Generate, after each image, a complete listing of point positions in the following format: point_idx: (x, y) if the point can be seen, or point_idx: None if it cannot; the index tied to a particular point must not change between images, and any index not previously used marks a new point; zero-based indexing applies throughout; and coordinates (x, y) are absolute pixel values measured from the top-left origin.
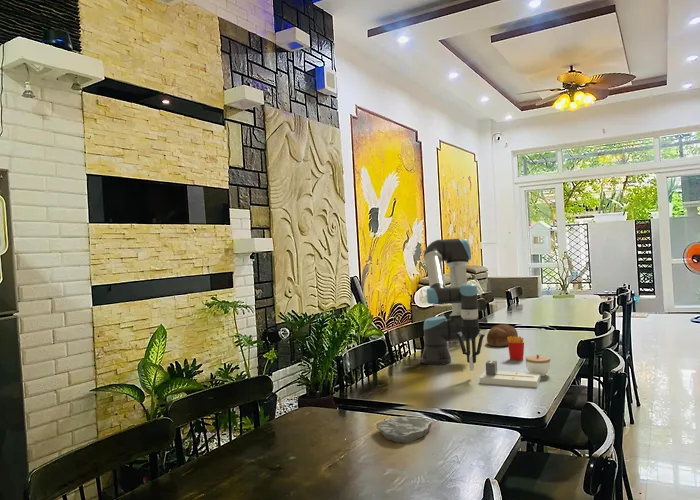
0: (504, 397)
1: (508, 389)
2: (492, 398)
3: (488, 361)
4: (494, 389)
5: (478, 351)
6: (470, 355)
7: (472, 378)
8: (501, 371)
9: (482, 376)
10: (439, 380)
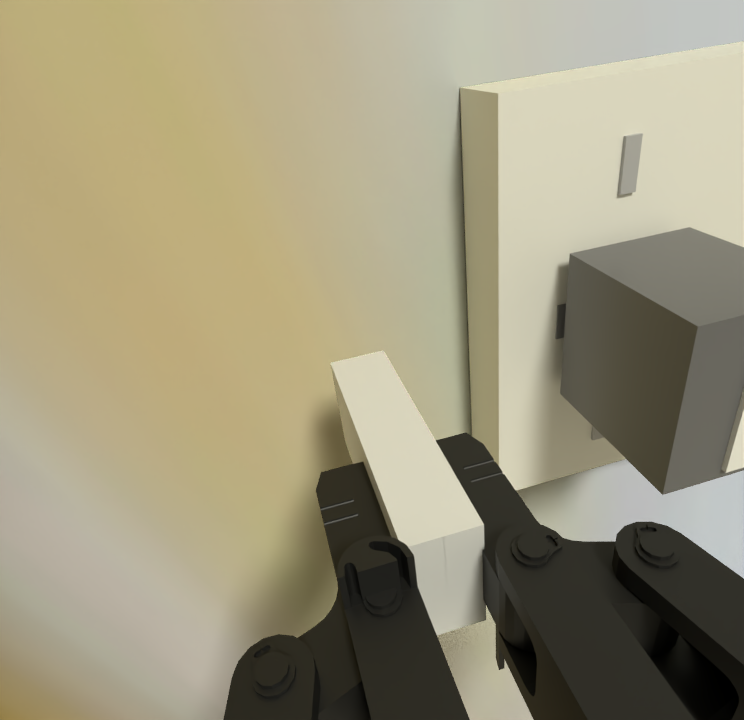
0: None
1: (715, 480)
2: None
3: (707, 382)
4: (617, 531)
5: (701, 686)
6: (420, 583)
7: (335, 331)
8: (736, 86)
9: (521, 447)
10: (21, 584)
